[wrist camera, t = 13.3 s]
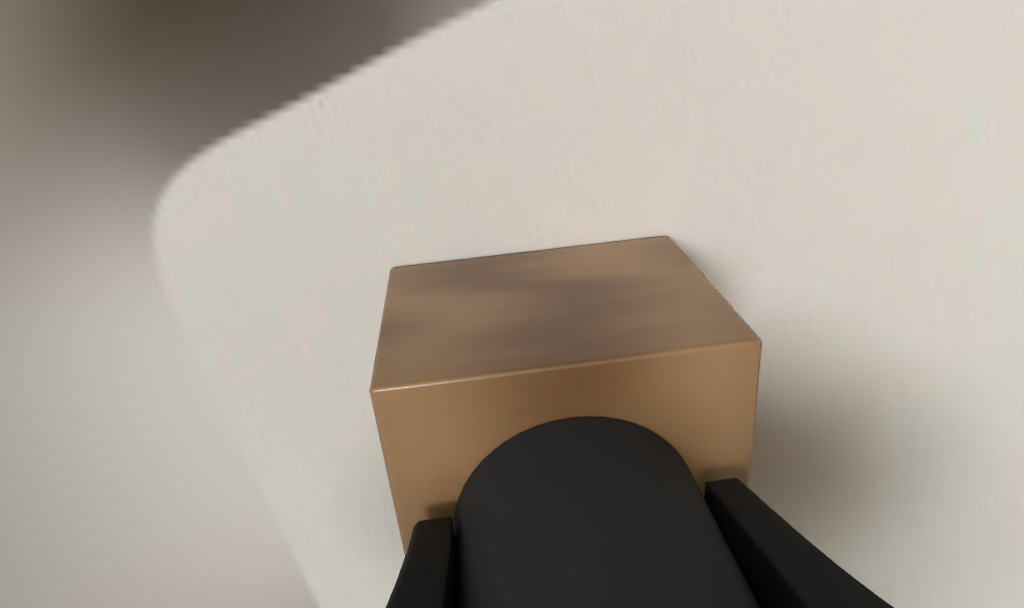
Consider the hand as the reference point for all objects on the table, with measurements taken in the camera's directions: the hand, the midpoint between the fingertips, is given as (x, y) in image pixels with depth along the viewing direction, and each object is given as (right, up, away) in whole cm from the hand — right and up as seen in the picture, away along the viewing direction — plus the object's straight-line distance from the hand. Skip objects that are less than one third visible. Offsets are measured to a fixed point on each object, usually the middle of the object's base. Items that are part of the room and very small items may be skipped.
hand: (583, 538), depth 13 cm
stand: (-1, +3, +5) cm, 6 cm away
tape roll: (0, 0, +1) cm, 1 cm away
